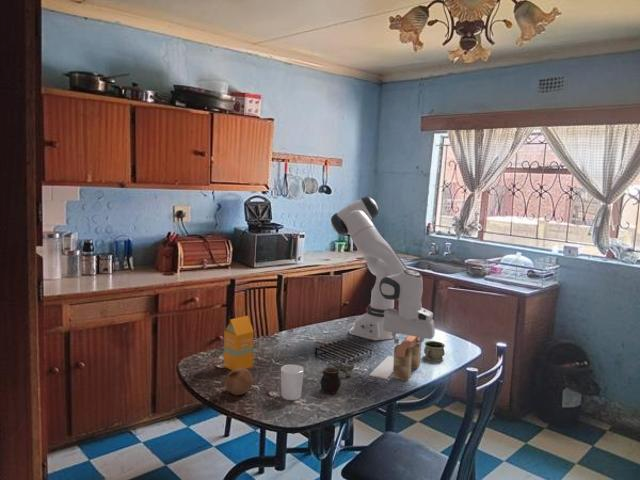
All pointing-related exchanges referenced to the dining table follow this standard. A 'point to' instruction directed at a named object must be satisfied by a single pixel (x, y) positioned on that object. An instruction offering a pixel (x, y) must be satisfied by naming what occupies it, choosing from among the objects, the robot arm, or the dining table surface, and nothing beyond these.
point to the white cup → (291, 381)
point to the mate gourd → (330, 380)
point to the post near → (402, 365)
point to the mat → (384, 369)
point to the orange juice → (238, 343)
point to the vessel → (434, 350)
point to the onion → (239, 381)
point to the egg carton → (344, 367)
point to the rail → (406, 345)
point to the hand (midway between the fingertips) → (407, 345)
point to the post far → (415, 355)
